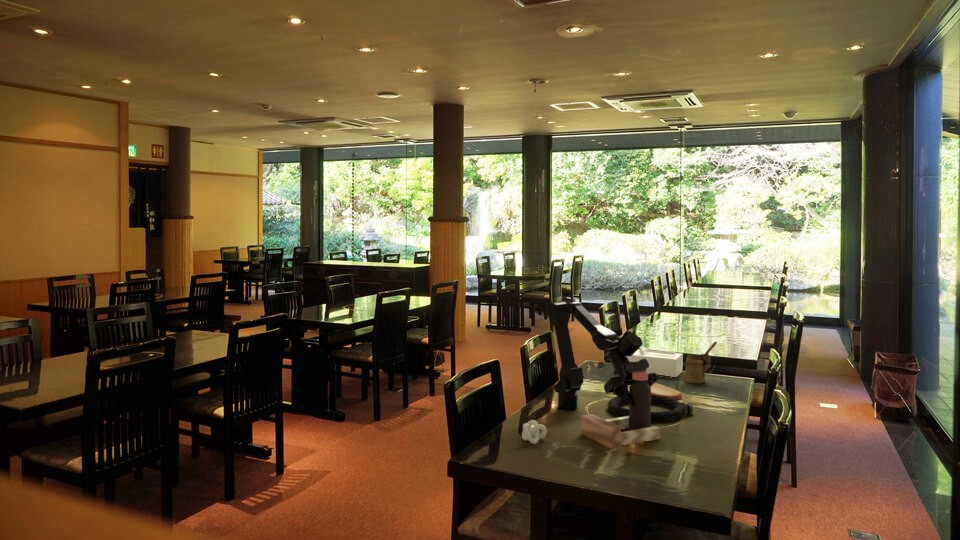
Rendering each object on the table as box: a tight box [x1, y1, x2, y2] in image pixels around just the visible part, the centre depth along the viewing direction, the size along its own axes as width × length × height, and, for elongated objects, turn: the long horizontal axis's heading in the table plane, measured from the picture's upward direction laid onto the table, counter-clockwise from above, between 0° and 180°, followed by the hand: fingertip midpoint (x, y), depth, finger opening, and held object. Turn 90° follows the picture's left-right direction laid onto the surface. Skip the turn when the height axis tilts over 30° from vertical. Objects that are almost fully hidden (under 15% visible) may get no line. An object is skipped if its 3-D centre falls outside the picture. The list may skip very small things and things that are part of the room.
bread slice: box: [651, 382, 683, 401], centre depth 253 cm, size 18×18×4 cm
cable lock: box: [606, 395, 694, 423], centre depth 228 cm, size 28×4×30 cm
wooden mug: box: [682, 341, 718, 384], centre depth 272 cm, size 9×14×18 cm, turn 68°
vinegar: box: [628, 371, 652, 431], centre depth 203 cm, size 7×7×20 cm
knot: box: [521, 419, 547, 445], centre depth 196 cm, size 8×8×6 cm
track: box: [580, 413, 661, 449], centre depth 200 cm, size 20×15×6 cm
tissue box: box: [627, 347, 684, 378], centre depth 292 cm, size 14×25×11 cm, turn 61°
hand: (642, 405), depth 202 cm, fingers closed on vinegar, 7 cm apart
